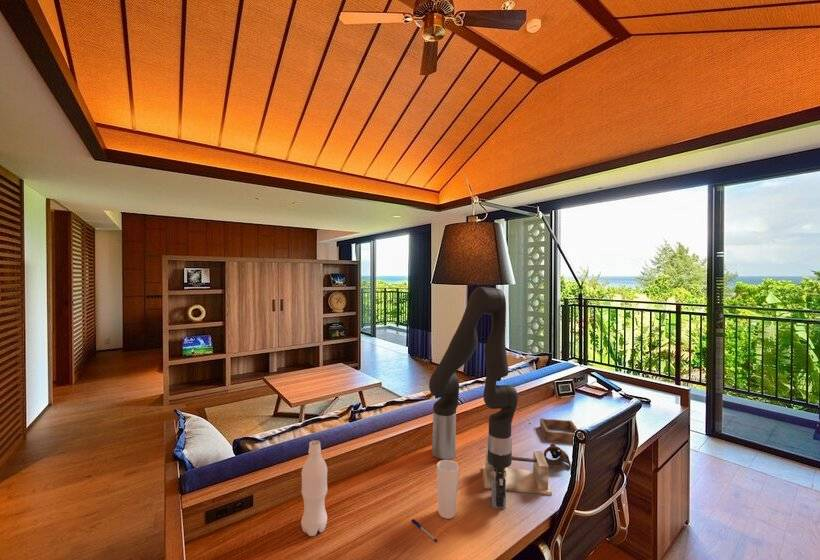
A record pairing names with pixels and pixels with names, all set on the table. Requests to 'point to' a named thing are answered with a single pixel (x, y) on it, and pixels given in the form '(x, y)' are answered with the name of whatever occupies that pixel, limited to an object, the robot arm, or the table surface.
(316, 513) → the water bottle
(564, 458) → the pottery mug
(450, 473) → the drinking glass
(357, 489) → the table surface
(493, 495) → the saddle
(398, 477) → the table surface
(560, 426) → the open wooden frame
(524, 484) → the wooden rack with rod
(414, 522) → the ballpoint pen
